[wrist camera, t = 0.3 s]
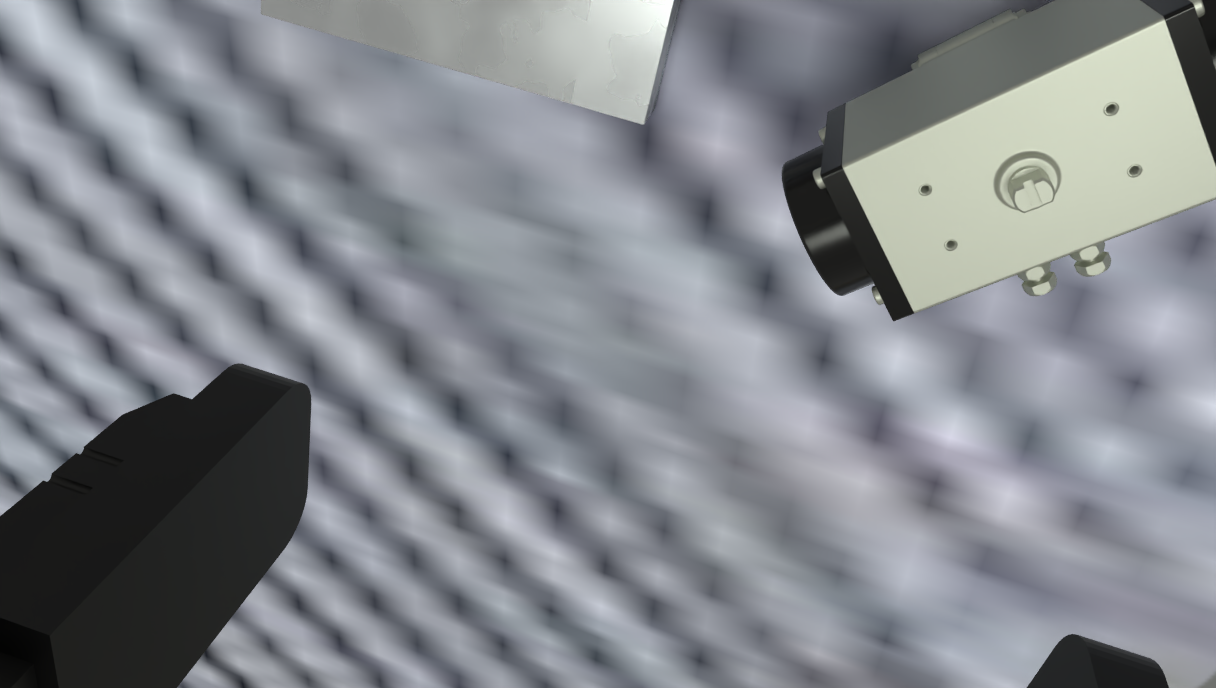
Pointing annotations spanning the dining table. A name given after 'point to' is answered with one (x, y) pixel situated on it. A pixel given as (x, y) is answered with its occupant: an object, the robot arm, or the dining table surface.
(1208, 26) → the pneumatic valve
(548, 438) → the dining table surface
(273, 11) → the plate
